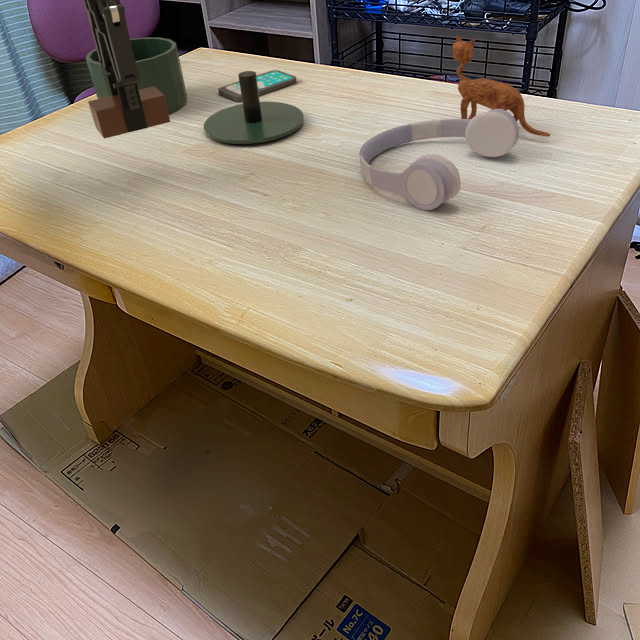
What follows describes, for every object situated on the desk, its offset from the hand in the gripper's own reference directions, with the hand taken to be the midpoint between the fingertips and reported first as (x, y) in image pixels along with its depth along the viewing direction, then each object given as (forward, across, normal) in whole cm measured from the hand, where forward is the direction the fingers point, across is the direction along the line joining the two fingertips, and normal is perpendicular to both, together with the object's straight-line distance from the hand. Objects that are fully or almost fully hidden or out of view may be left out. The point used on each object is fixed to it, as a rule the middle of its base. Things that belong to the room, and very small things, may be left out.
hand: (132, 122), depth 93 cm
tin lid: (+8, +8, -22) cm, 25 cm away
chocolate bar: (0, 0, 0) cm, 0 cm away
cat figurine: (+8, -20, -53) cm, 58 cm away
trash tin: (+9, +32, -9) cm, 34 cm away
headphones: (+8, -24, -36) cm, 45 cm away
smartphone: (+9, +26, -31) cm, 42 cm away
